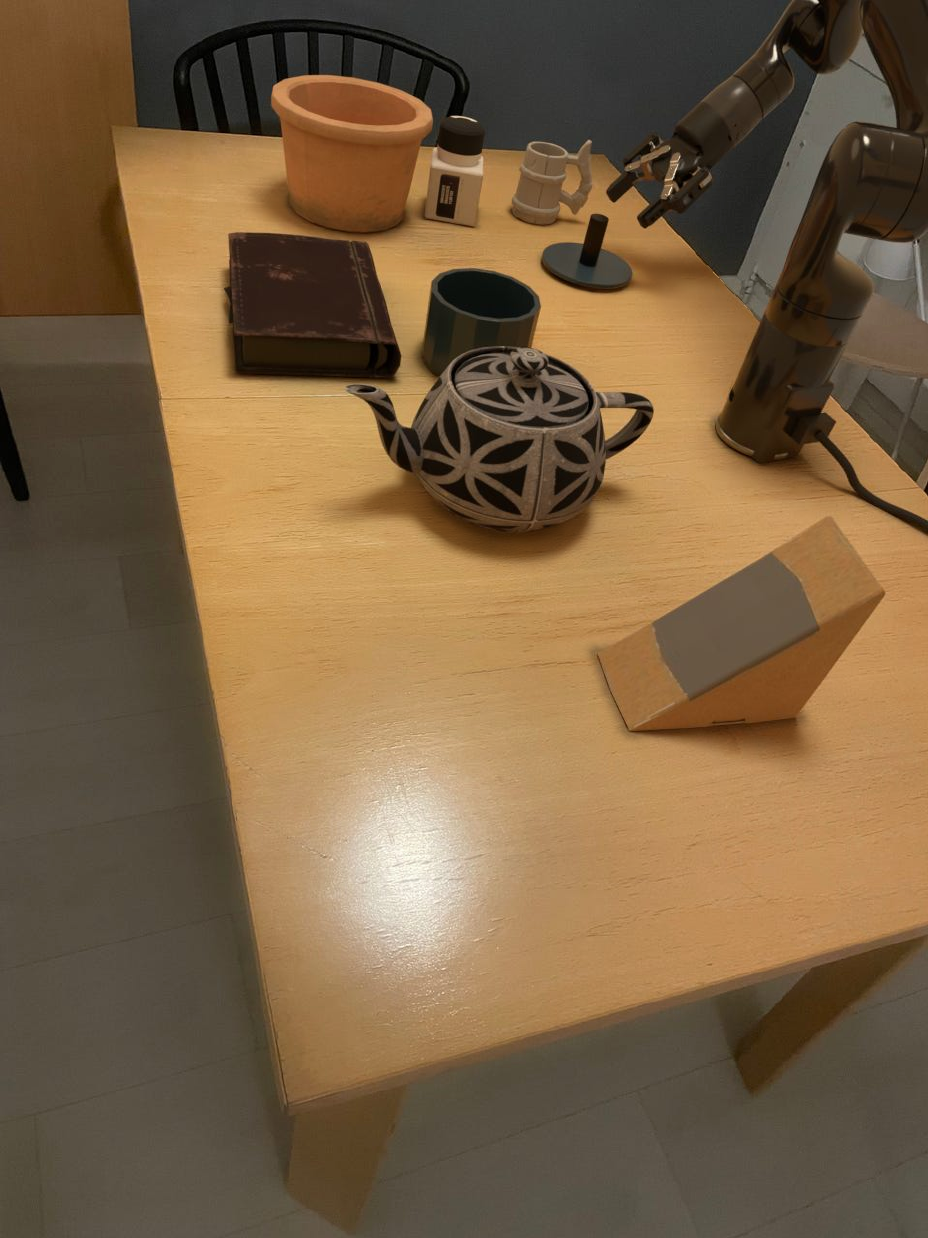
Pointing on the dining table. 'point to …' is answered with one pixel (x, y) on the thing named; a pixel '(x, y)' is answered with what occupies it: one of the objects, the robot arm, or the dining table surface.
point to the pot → (476, 315)
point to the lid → (588, 259)
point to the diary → (308, 307)
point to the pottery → (349, 149)
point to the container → (456, 172)
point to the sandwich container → (747, 639)
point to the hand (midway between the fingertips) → (624, 210)
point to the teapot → (508, 437)
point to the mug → (549, 182)
